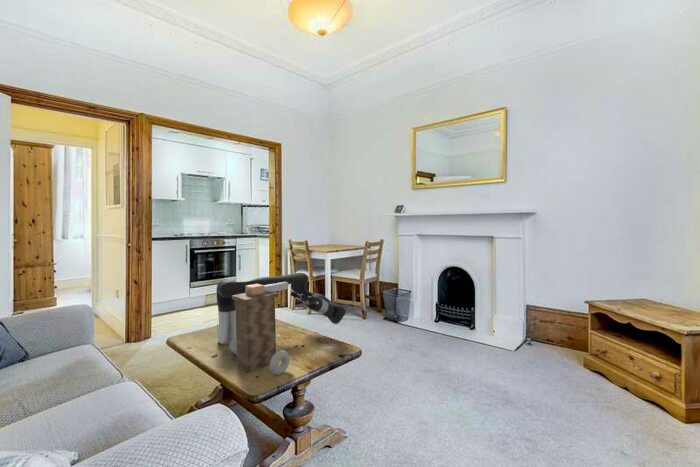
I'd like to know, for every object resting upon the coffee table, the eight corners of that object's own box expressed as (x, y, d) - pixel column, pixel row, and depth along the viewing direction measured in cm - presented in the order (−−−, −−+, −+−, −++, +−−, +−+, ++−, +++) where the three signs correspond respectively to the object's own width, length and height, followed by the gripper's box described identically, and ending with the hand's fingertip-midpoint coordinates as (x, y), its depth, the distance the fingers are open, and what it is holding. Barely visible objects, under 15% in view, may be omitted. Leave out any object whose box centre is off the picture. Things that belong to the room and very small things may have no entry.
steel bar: (282, 287, 162) (282, 279, 162) (290, 289, 158) (290, 280, 158) (245, 294, 148) (245, 285, 148) (252, 296, 144) (252, 287, 144)
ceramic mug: (236, 359, 155) (236, 343, 154) (229, 354, 161) (228, 339, 160) (257, 353, 162) (257, 337, 162) (249, 348, 168) (249, 333, 168)
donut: (273, 379, 135) (272, 355, 135) (268, 377, 137) (267, 353, 137) (291, 370, 143) (291, 347, 143) (286, 368, 145) (285, 346, 145)
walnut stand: (265, 354, 160) (263, 289, 158) (279, 362, 151) (277, 293, 150) (233, 365, 148) (231, 295, 146) (247, 374, 140) (245, 299, 138)
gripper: (324, 314, 169) (302, 303, 158) (306, 309, 179) (284, 299, 168) (329, 300, 171) (308, 289, 161) (311, 296, 181) (290, 285, 171)
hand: (296, 294), depth 164 cm, fingers open, 8 cm apart
